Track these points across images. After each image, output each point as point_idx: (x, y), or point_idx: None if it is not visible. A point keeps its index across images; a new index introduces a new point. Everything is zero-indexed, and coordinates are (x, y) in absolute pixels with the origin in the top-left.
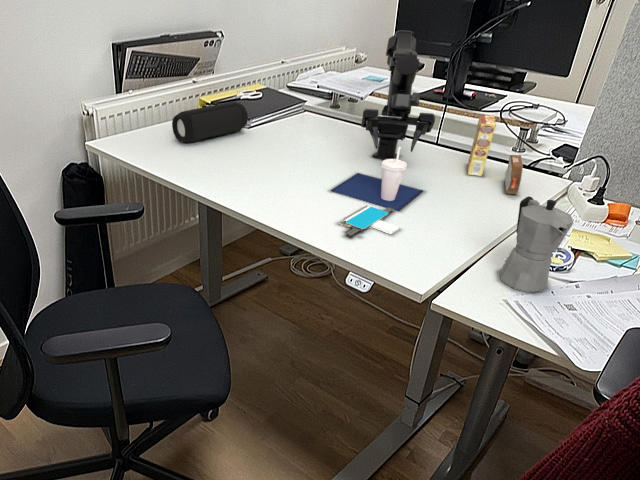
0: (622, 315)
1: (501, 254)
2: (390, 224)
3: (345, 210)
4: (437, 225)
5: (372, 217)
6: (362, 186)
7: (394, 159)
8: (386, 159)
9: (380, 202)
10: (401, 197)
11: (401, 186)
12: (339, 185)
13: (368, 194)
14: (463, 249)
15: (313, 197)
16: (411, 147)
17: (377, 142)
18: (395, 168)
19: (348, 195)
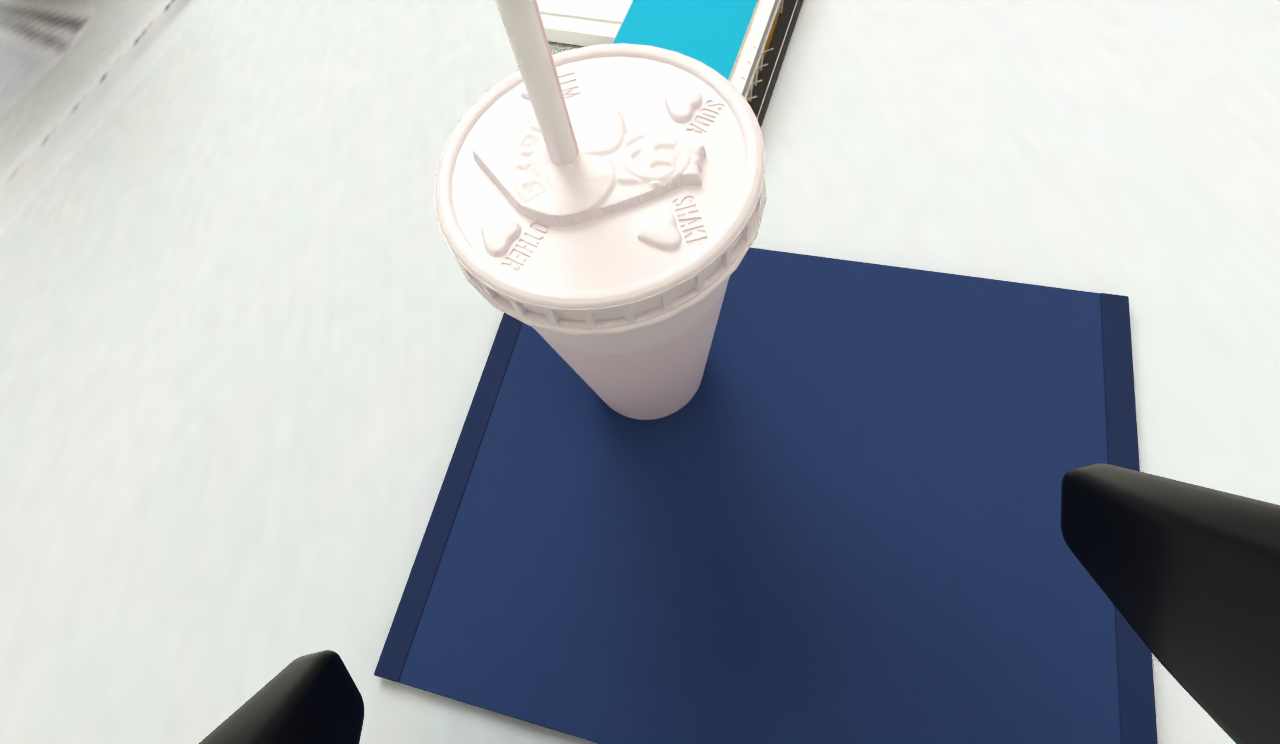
0: None
1: (77, 60)
2: (559, 24)
3: (858, 89)
4: (317, 167)
5: (664, 16)
6: (924, 501)
7: (618, 284)
8: (728, 224)
9: None
10: (548, 425)
11: (579, 686)
12: (1124, 418)
13: (809, 358)
14: (229, 25)
15: (1160, 147)
16: (304, 696)
17: (1174, 502)
18: (561, 66)
19: (945, 273)
